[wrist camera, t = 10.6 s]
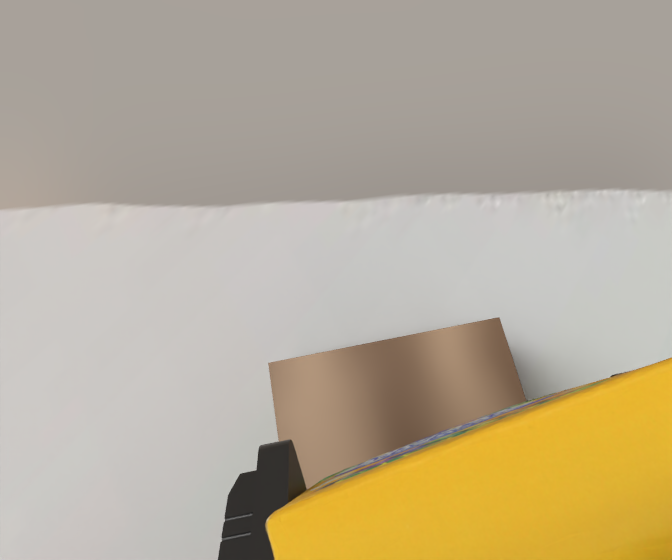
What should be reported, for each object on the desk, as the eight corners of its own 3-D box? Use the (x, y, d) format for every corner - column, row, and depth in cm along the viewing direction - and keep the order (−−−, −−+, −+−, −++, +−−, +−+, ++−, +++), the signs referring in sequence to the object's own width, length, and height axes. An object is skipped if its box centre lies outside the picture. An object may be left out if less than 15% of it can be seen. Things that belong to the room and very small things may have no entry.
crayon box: (512, 399, 16) (819, 311, 5) (553, 485, 15) (1048, 604, 4) (322, 471, 16) (216, 542, 5) (351, 565, 15) (302, 930, 4)
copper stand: (319, 597, 24) (306, 647, 18) (287, 377, 28) (268, 363, 22) (535, 554, 24) (587, 589, 19) (471, 341, 28) (499, 317, 23)
